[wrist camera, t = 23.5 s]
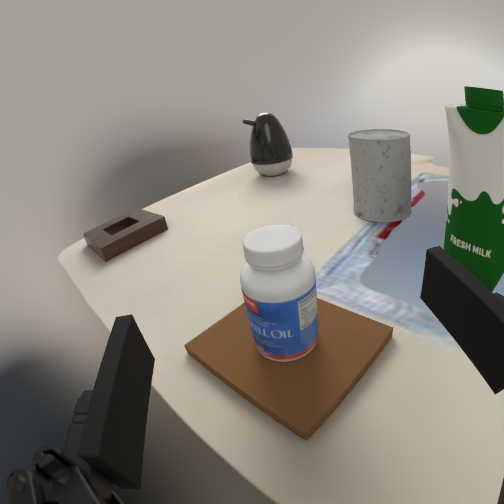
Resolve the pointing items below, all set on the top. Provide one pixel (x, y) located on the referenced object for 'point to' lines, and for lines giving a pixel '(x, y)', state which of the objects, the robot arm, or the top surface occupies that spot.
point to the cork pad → (293, 364)
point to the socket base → (124, 232)
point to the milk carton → (477, 184)
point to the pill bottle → (279, 293)
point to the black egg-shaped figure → (269, 145)
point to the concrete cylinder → (381, 174)
